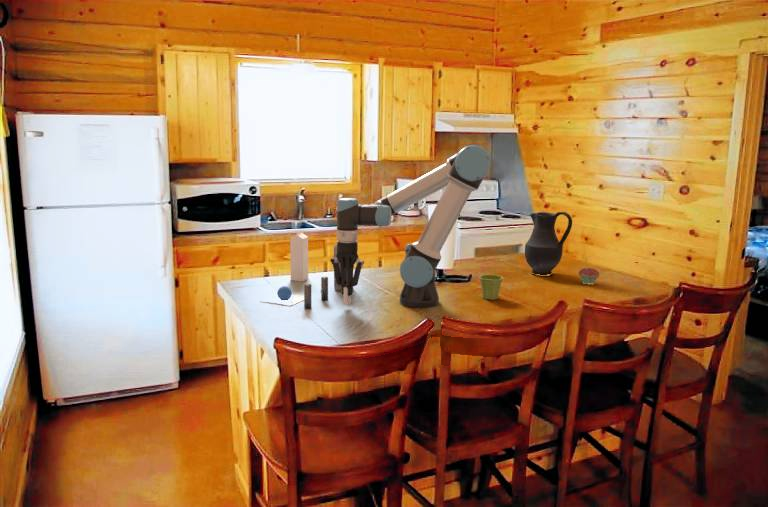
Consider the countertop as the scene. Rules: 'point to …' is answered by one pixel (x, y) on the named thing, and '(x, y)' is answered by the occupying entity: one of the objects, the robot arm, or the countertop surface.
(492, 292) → the plant pot
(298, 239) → the milk
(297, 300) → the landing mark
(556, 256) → the pitcher
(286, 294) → the ball
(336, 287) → the spray can
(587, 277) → the cupcake
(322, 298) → the right post
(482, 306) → the countertop surface
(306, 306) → the left post
